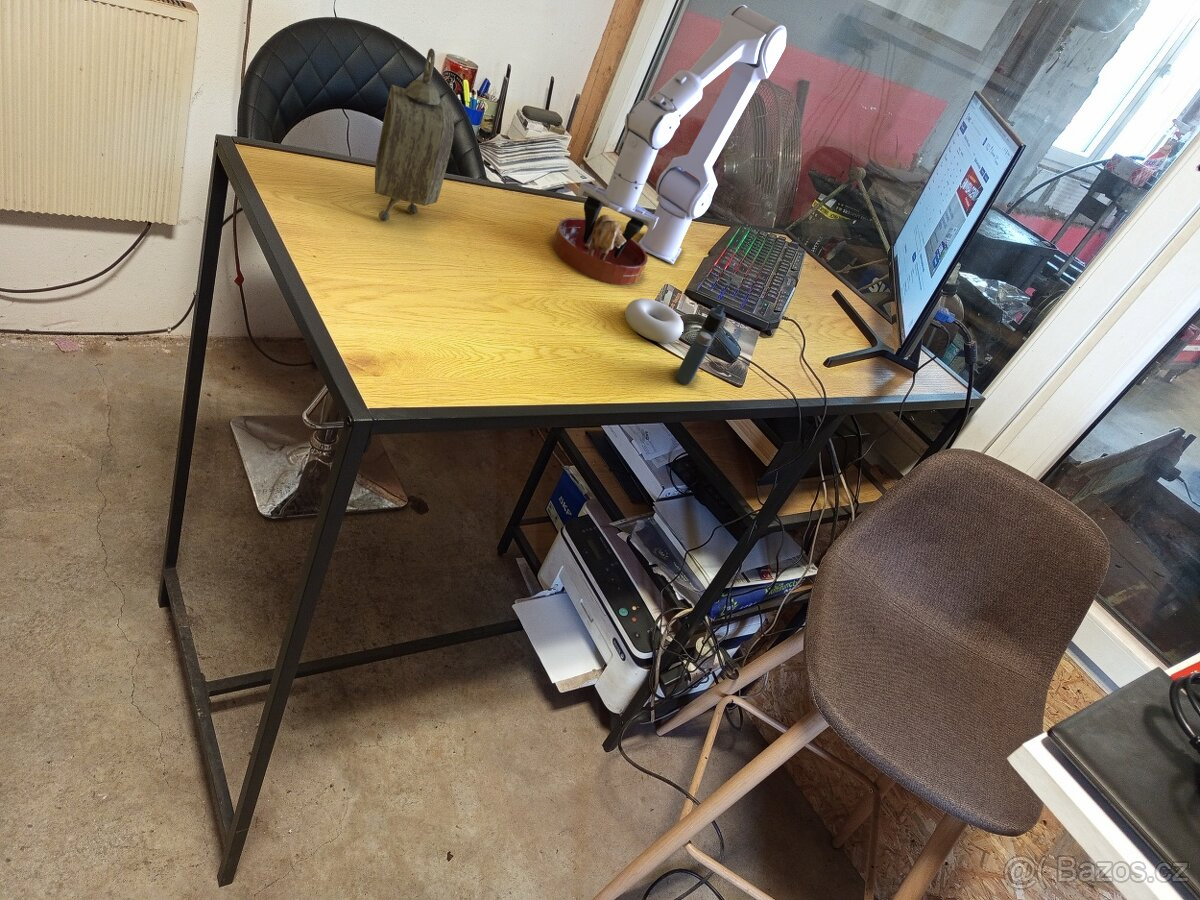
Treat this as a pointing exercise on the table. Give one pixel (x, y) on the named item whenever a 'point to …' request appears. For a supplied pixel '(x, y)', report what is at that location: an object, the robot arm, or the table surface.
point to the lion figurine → (605, 236)
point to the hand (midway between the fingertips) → (601, 248)
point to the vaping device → (700, 345)
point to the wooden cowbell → (414, 144)
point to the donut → (654, 320)
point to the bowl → (598, 255)
